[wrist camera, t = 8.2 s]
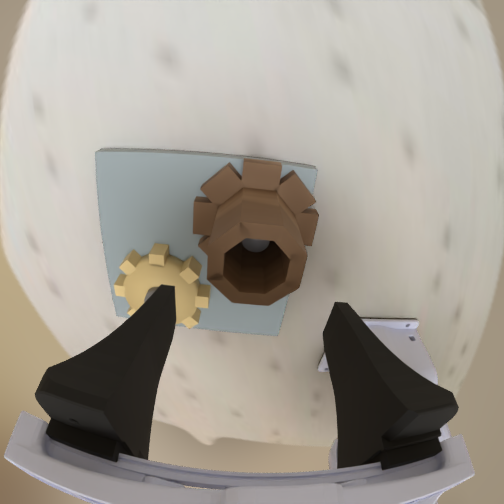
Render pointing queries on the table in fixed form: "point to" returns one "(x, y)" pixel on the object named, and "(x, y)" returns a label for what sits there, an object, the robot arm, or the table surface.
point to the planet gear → (255, 231)
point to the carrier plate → (172, 236)
